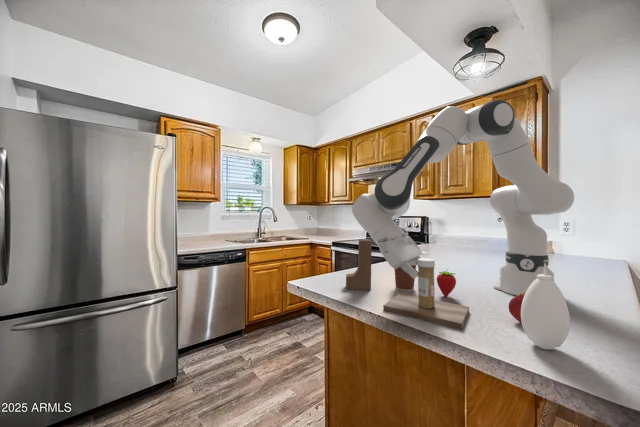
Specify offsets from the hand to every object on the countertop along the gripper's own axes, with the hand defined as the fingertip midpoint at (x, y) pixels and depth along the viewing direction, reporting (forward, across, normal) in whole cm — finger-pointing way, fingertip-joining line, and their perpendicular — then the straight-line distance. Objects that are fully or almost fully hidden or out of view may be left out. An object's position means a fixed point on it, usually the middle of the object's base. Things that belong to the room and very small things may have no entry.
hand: (421, 273), depth 75 cm
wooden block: (-10, +8, +25) cm, 28 cm away
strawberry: (+10, +18, +5) cm, 21 cm away
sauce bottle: (+26, -5, -11) cm, 29 cm away
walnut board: (+8, 0, +6) cm, 11 cm away
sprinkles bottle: (+8, 0, +6) cm, 9 cm away
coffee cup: (0, +18, +15) cm, 24 cm away
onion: (+24, +7, -9) cm, 27 cm away
